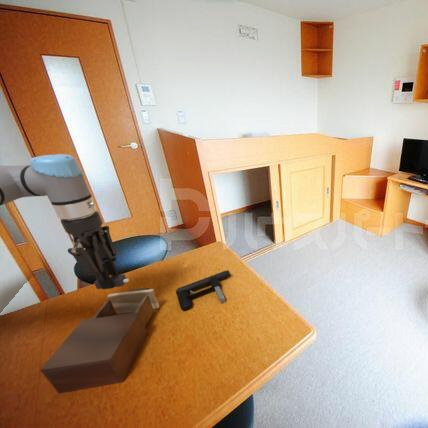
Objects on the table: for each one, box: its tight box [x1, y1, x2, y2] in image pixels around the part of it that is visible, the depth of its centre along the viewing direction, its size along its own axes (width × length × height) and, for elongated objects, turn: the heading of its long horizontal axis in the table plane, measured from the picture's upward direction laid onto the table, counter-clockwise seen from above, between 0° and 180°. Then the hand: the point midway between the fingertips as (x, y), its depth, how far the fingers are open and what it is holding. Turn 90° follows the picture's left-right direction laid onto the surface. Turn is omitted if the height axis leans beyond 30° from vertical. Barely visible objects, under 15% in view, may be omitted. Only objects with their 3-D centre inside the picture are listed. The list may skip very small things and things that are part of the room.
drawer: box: [92, 287, 160, 327], centre depth 78 cm, size 18×13×8 cm
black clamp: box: [175, 269, 231, 311], centre depth 91 cm, size 3×20×16 cm
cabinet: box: [39, 312, 149, 394], centre depth 66 cm, size 15×15×10 cm
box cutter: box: [93, 273, 130, 290], centre depth 72 cm, size 8×3×3 cm, turn 102°
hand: (111, 284), depth 73 cm, fingers closed on box cutter, 3 cm apart
